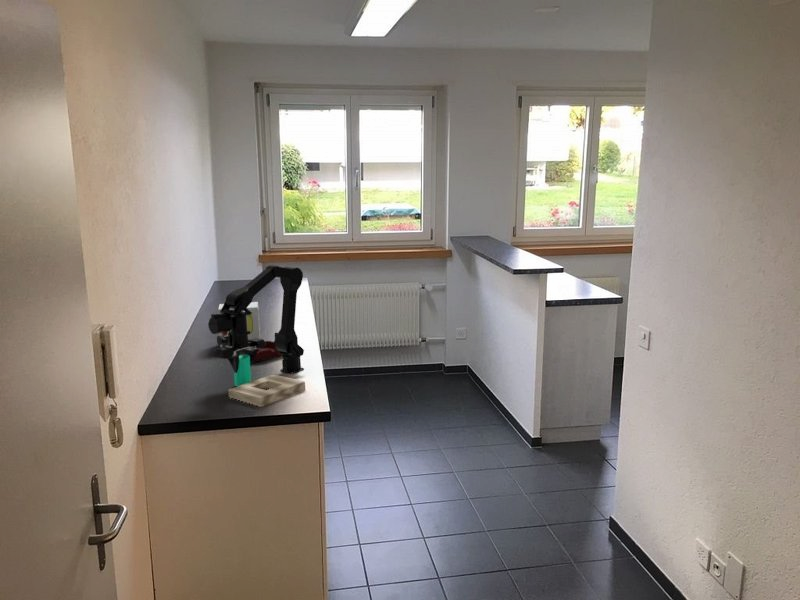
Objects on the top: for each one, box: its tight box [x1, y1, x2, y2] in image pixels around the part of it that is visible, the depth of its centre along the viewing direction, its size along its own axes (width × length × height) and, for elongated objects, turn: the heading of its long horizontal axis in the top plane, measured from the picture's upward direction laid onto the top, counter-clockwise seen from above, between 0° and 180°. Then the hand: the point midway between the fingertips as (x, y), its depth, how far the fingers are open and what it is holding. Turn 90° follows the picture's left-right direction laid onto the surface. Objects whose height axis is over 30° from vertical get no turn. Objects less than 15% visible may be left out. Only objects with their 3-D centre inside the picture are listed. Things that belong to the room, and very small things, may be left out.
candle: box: [233, 353, 253, 387], centre depth 230 cm, size 6×6×12 cm
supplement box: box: [217, 301, 262, 348], centre depth 287 cm, size 17×13×18 cm
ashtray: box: [242, 340, 284, 362], centre depth 268 cm, size 18×16×5 cm
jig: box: [227, 374, 306, 408], centre depth 221 cm, size 20×16×3 cm
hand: (242, 371), depth 230 cm, fingers closed on candle, 5 cm apart
